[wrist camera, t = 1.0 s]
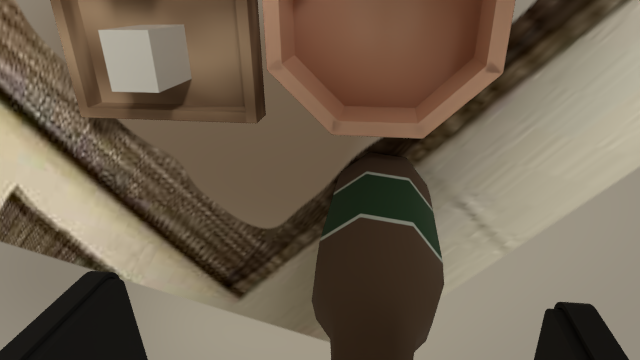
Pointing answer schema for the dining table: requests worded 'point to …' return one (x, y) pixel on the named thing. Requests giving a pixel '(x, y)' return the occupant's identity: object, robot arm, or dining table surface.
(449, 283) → the dining table surface
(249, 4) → the walnut tray
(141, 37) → the white sharp-edged block
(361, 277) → the beer bottle
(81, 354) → the robot arm
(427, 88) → the bowl
